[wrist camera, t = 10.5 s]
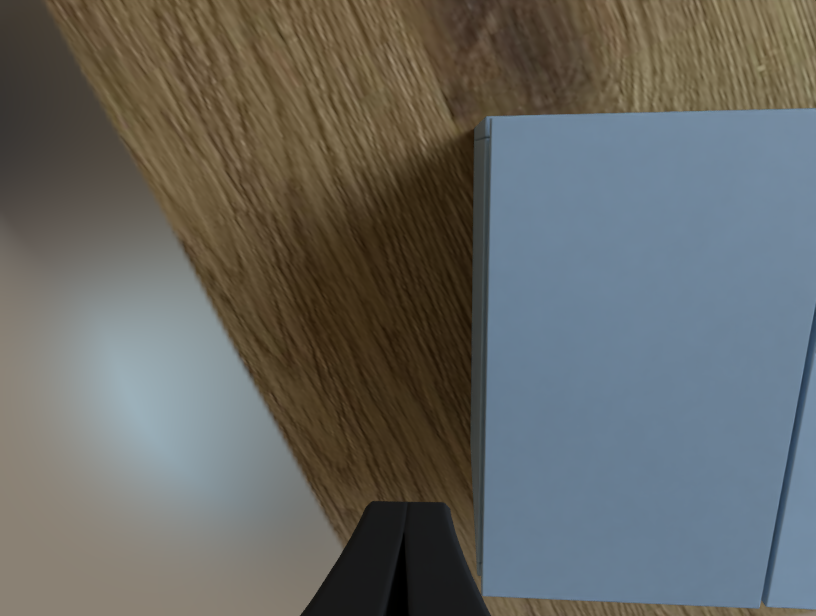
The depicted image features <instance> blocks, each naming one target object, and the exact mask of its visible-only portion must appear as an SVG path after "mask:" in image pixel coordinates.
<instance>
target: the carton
mask: <svg viewBox="0 0 816 616" xmlns="http://www.w3.org/2000/svg"><path fill="white" fill-rule="evenodd" d="M815 304H816V108H804V109H764V110H724V111H683V112H643V113H603V114H562V115H522V116H487V117H485V118H484V119H483V120H482V121H481V122H480V123H479V124H478V125H477V126H476V127H475V128H474V193H473V277H472V361H471V464H472V484H473V503H474V523H475V542H476V562H477V574H478V576H481V594H482V596H493V597H515V598H537V599H560V600H582V601H604V602H626V603H649V604H671V605H693V606H715V607H738V608H760V602H761V597H762V592H763V586H764V581H765V575H766V570H767V564H768V559H769V554H770V548H771V543H772V537H773V532H774V526H775V521H776V516H777V510H778V505H779V499H780V494H781V489H782V483H783V478H784V472H785V467H786V461H787V456H788V451H789V445H790V440H791V434H792V429H793V423H794V418H795V413H796V407H797V402H798V396H799V391H800V385H801V380H802V375H803V369H804V364H805V358H806V353H807V348H808V342H809V337H810V331H811V326H812V320H813V315H814V310H815Z"/></svg>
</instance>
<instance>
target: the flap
mask: <svg viewBox="0 0 816 616" xmlns="http://www.w3.org/2000/svg"><path fill="white" fill-rule="evenodd" d="M761 600H762V602H763V603H764V605H765V606H766V607H778V608H798V609H816V304H815V310H814V315H813V320H812V326H811V331H810V337H809V342H808V348H807V353H806V358H805V364H804V369H803V375H802V380H801V385H800V391H799V396H798V402H797V407H796V413H795V418H794V423H793V429H792V434H791V440H790V445H789V451H788V456H787V461H786V467H785V472H784V478H783V483H782V489H781V494H780V499H779V505H778V510H777V516H776V521H775V526H774V532H773V537H772V543H771V548H770V554H769V559H768V564H767V570H766V575H765V581H764V586H763V592H762V597H761Z"/></svg>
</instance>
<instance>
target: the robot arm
mask: <svg viewBox="0 0 816 616" xmlns="http://www.w3.org/2000/svg"><path fill="white" fill-rule="evenodd" d="M300 616H491V615H490V613H489V611H488V609H487V607H486V605H485V603H484V601H483V598H482V596H481V594H480V592H479V590H478V588H477V585H476V583H475V581H474V579H473V577H472V575H471V572H470V570H469V567H468V565H467V563H466V560H465V557H464V555H463V552H462V550H461V547H460V544H459V541H458V538H457V535H456V532H455V529H454V525H453V521H452V517H451V511H450V508H449V507H448V506H447V505H446V504H445V503H444V502H387V501H372V502H371V503H370V504H369V505H367V506H366V508H365V510H364V512H363V515H362V517H361V519H360V521H359V523H358V525H357V527H356V529H355V530H354V532H353V534H352V536H351V538H350V540H349V541H348V543H347V545H346V546H345V548H344V550H343V552H342V553H341V555H340V557H339V558H338V560H337V562H336V563H335V565H334V566H333V568H332V569H331V571H330V572H329V574H328V576H327V577H326V579H325V581H324V582H323V583H322V585H321V587H320V588H319V590H318V591H317V593H316V594H315V596H314V597H313V599H312V600H311V602H310V603H309V605H308V606H307V607H306V608H305V610H304V611H303V613H302V614H301V615H300Z"/></svg>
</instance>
